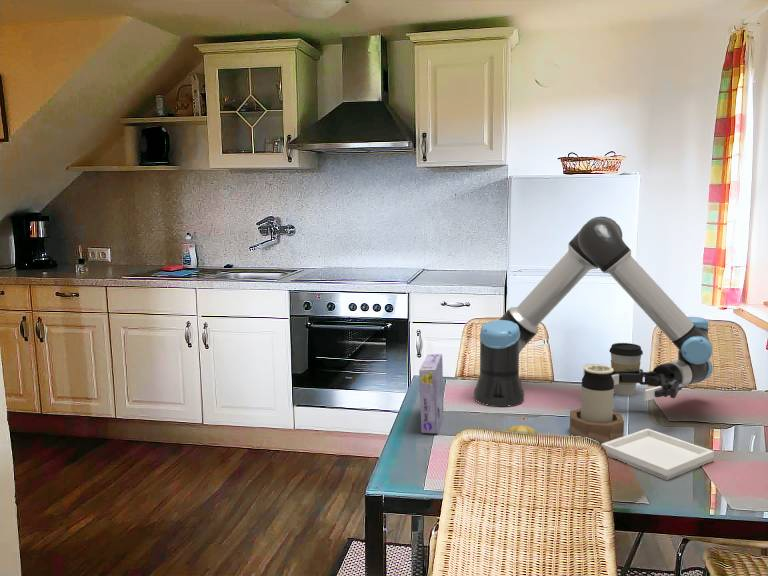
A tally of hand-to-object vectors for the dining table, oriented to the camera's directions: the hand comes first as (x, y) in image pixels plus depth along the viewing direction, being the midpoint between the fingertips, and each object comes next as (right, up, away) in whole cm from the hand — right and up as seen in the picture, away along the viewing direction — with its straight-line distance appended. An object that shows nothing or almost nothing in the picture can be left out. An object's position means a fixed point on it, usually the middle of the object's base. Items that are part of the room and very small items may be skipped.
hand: (623, 389), depth 180 cm
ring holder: (-9, -11, -4) cm, 15 cm away
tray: (+1, -14, -19) cm, 23 cm away
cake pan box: (-51, -10, +7) cm, 52 cm away
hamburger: (-32, -15, -24) cm, 43 cm away
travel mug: (-9, -12, -4) cm, 15 cm away
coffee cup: (+11, -6, +30) cm, 32 cm away
